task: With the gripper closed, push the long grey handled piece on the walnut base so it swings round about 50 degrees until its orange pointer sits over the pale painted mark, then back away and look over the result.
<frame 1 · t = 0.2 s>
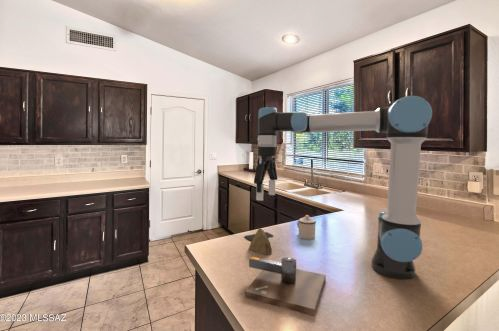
hand: (266, 197, 108), 27 cm above the countertop, tool pointing down, fingers open, 13 cm apart
rock: (260, 252, 120), on the countertop
teacup with lid: (304, 236, 141), on the countertop
phone: (259, 237, 139), on the countertop
base board: (287, 288, 89), on the countertop
grey handled piece: (272, 265, 92), point 6 cm above the countertop, hinge at 0.0°
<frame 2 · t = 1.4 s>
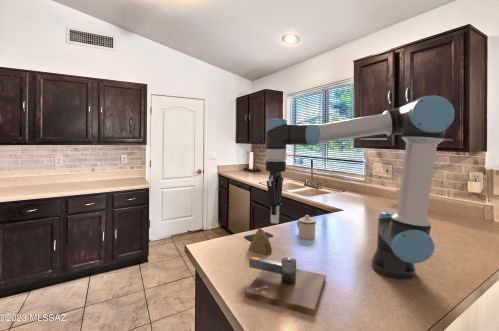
hand: (274, 222, 99), 19 cm above the countertop, tool pointing down, fingers closed
nothing on the countertop moved.
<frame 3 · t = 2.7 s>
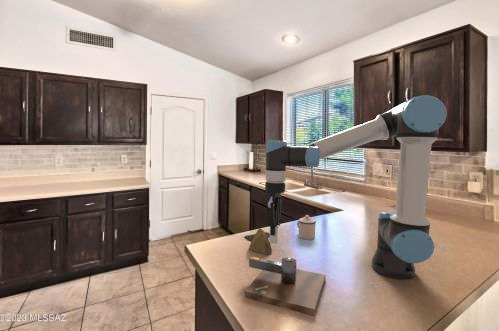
hand: (273, 242, 99), 12 cm above the countertop, tool pointing down, fingers closed
nothing on the countertop moved.
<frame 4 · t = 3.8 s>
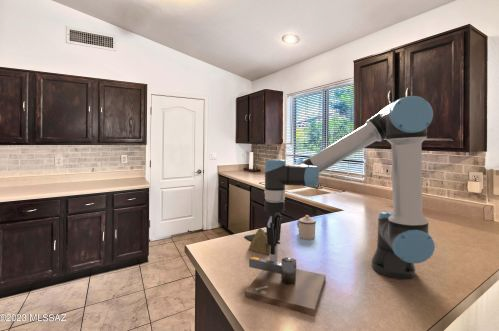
hand: (273, 261, 100), 4 cm above the countertop, tool pointing down, fingers closed
nothing on the countertop moved.
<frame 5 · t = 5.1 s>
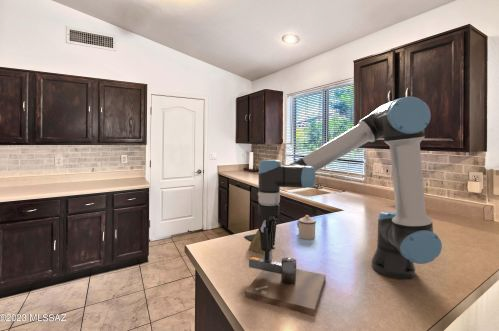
hand: (267, 267, 94), 5 cm above the countertop, tool pointing down, fingers closed
grey handled piece: (272, 266, 92), point 6 cm above the countertop, hinge at 0.8°, touching gripper
everything else where it was.
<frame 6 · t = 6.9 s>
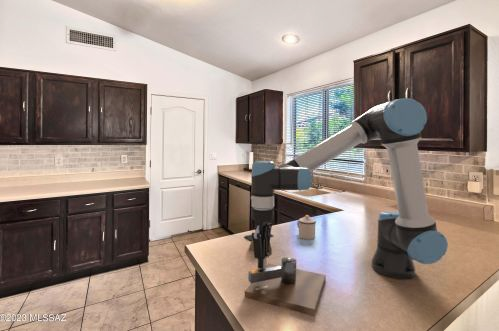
hand: (261, 275, 88), 4 cm above the countertop, tool pointing down, fingers closed
grey handled piece: (273, 272, 87), point 6 cm above the countertop, hinge at 46.1°, touching gripper
everything else where it was.
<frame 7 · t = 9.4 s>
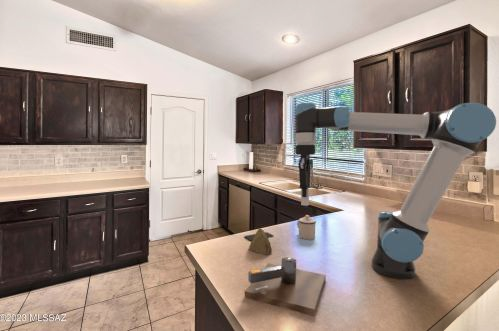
hand: (305, 204, 101), 26 cm above the countertop, tool pointing down, fingers closed
grey handled piece: (273, 272, 87), point 6 cm above the countertop, hinge at 46.3°
everything else where it was.
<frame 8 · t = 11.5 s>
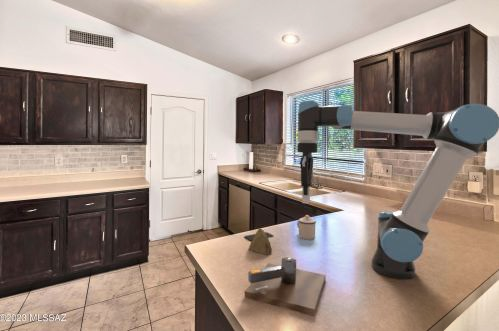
hand: (305, 202, 102), 26 cm above the countertop, tool pointing down, fingers closed
nothing on the countertop moved.
at the end: grey handled piece at +46° (first picture: +0°) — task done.
